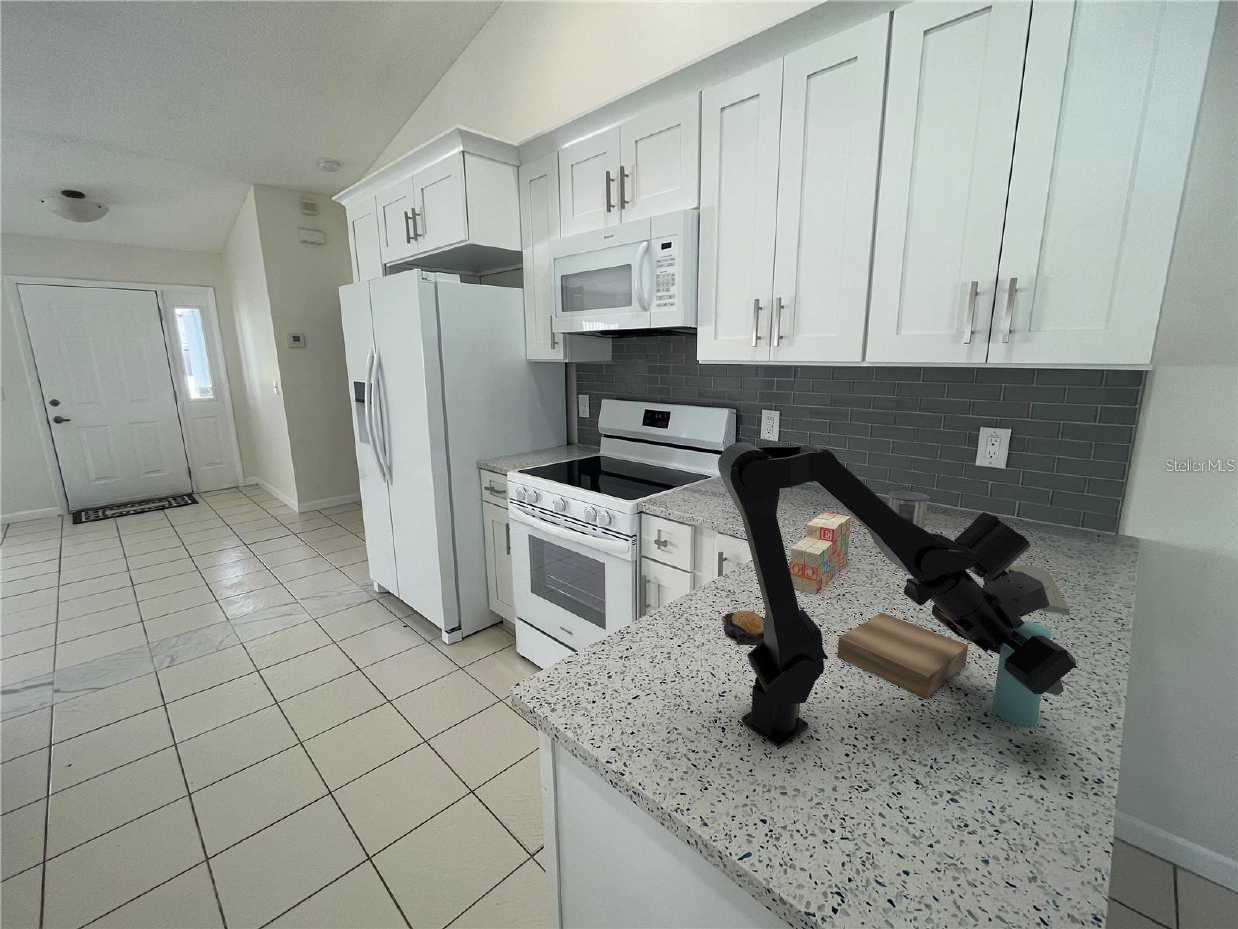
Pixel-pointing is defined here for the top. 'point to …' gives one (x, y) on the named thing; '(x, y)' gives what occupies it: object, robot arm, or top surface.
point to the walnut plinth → (903, 653)
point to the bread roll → (744, 627)
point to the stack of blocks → (820, 552)
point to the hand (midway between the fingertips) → (1030, 671)
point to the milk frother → (909, 506)
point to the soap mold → (1050, 587)
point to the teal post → (1016, 686)
